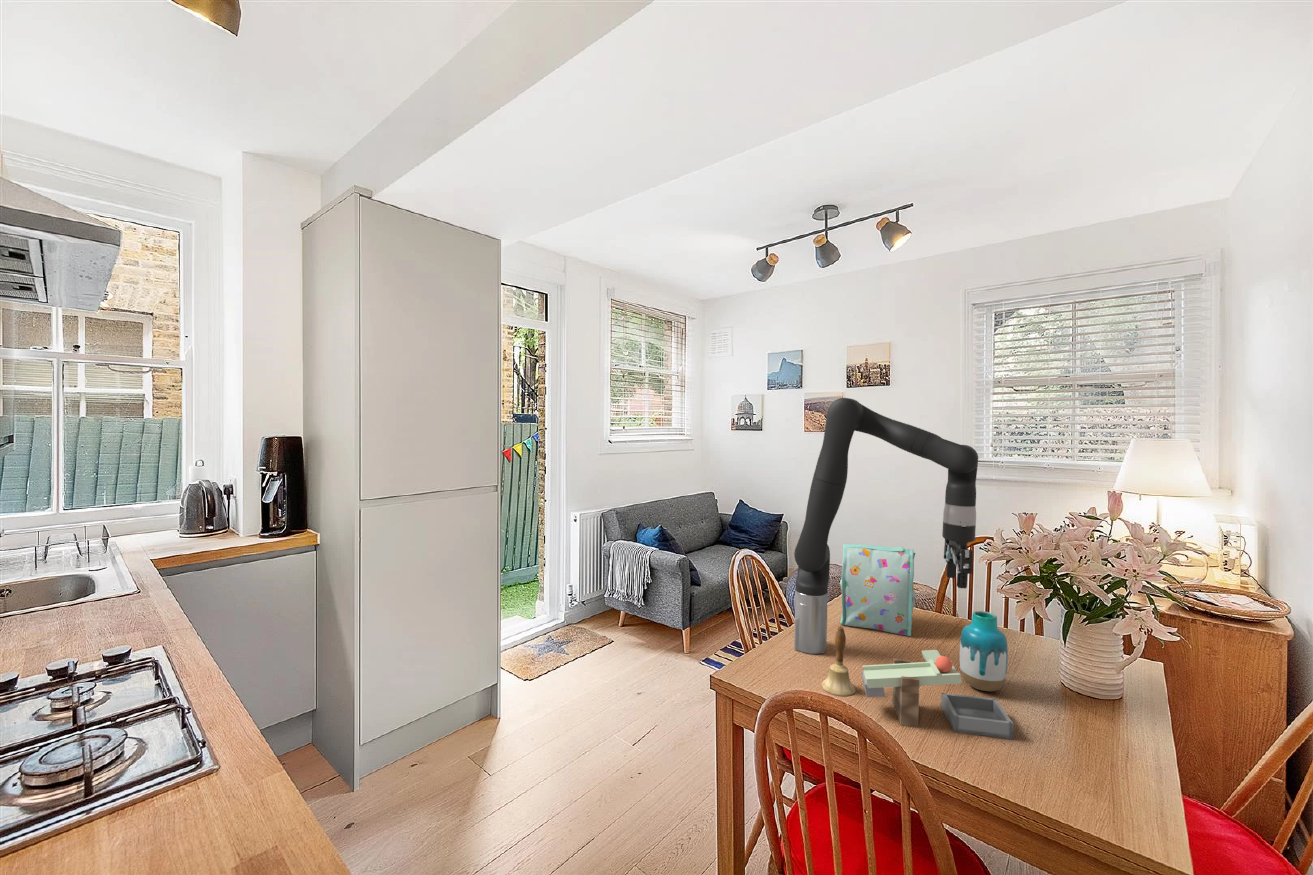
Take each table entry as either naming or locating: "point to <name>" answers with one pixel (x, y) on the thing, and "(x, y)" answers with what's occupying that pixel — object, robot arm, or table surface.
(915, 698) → the fulcrum
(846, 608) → the lunch bag
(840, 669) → the hand bell
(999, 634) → the vase
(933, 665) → the lever
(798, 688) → the table surface
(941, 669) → the ball
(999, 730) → the tray
